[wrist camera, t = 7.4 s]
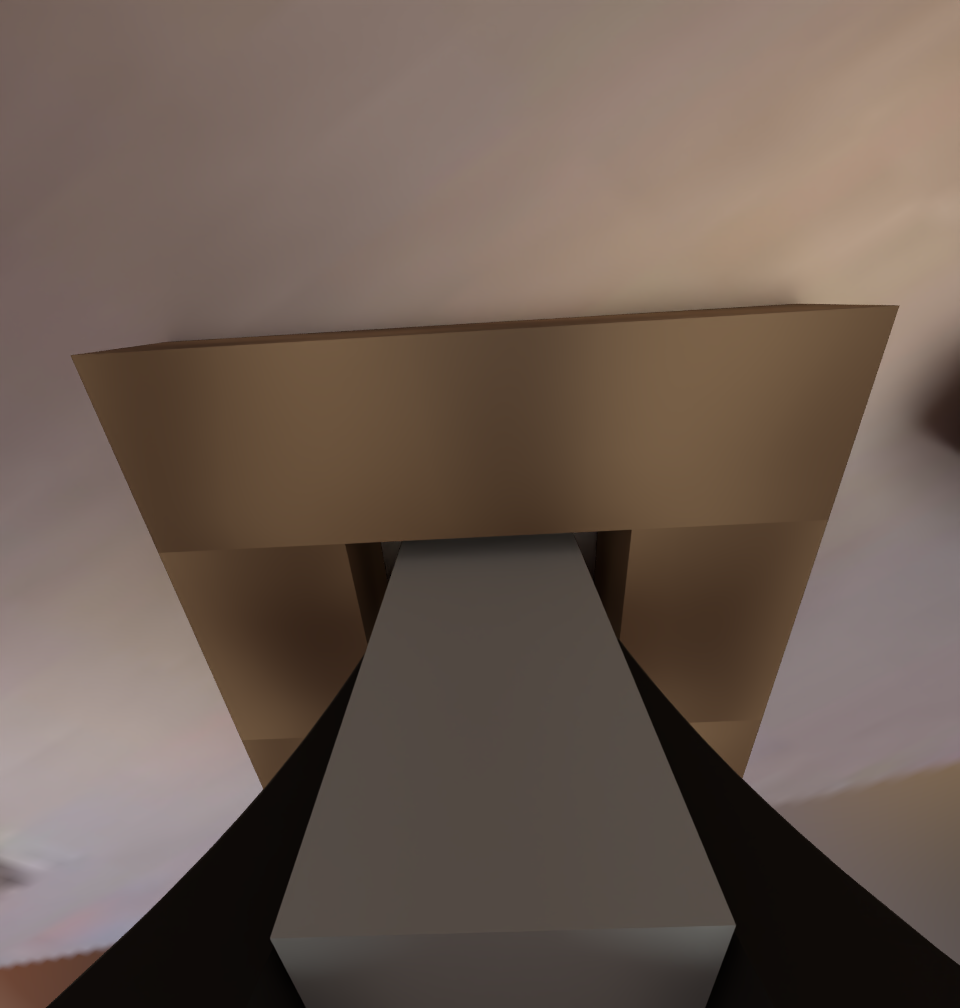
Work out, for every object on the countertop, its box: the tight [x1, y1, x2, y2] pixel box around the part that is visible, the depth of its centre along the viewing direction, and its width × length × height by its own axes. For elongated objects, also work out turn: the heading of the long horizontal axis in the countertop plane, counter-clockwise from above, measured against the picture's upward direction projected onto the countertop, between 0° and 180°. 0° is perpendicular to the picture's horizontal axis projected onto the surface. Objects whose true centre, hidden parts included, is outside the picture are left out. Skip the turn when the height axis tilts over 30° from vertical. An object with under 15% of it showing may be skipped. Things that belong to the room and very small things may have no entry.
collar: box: [71, 304, 899, 789], centre depth 11 cm, size 14×14×2 cm
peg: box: [270, 533, 736, 1008], centre depth 8 cm, size 4×4×8 cm
